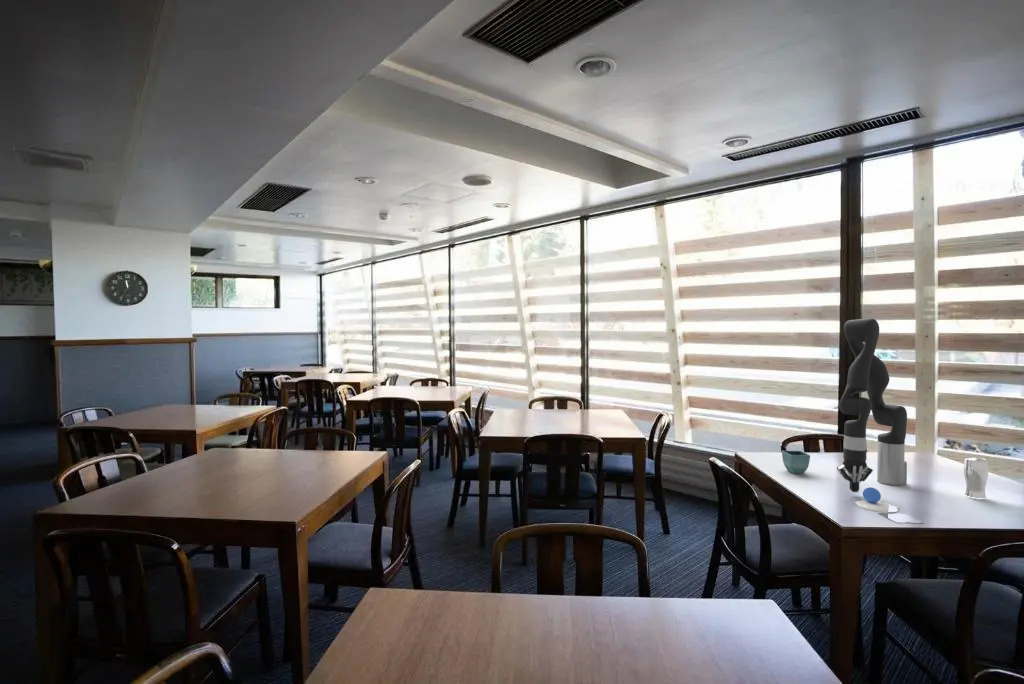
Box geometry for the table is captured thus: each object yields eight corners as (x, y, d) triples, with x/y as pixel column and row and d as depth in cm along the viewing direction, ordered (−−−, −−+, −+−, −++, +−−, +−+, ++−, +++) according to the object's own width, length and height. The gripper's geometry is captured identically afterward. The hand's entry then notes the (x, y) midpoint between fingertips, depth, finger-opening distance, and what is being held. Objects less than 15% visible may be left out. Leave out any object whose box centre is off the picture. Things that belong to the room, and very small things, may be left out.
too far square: (904, 514, 179) (904, 513, 179) (923, 523, 170) (923, 522, 170) (877, 513, 179) (877, 513, 179) (896, 523, 170) (896, 522, 170)
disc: (882, 500, 193) (882, 500, 193) (907, 513, 180) (907, 512, 180) (847, 500, 193) (847, 500, 193) (870, 512, 180) (870, 512, 180)
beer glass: (984, 501, 192) (985, 462, 191) (960, 496, 197) (961, 458, 197) (990, 498, 195) (990, 459, 195) (966, 493, 201) (967, 456, 201)
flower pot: (810, 475, 228) (811, 455, 228) (790, 474, 228) (791, 455, 228) (800, 469, 237) (800, 450, 237) (781, 469, 237) (781, 450, 237)
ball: (886, 491, 188) (882, 505, 189) (873, 484, 194) (869, 498, 195) (873, 491, 187) (870, 505, 188) (860, 484, 192) (857, 498, 194)
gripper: (843, 449, 196) (842, 494, 196) (878, 450, 195) (878, 494, 195) (831, 445, 203) (831, 488, 203) (865, 445, 203) (865, 488, 203)
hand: (854, 491), depth 199 cm, fingers closed
